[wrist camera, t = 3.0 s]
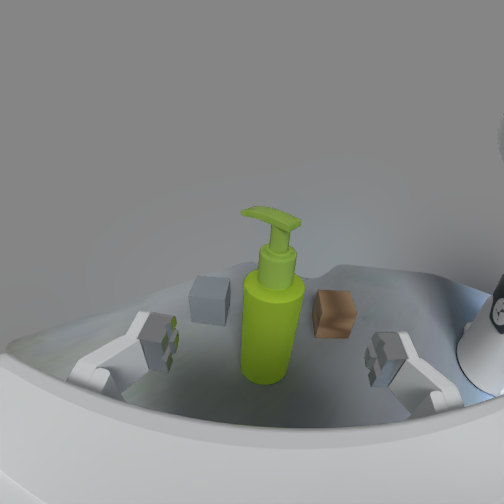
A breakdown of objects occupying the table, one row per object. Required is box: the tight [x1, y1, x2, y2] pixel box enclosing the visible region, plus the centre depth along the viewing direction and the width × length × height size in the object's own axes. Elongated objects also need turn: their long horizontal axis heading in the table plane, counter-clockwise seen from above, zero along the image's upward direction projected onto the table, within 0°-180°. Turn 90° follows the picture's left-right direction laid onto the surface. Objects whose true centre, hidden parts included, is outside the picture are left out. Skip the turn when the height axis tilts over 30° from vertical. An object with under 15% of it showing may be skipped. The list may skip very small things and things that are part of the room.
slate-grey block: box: [189, 276, 230, 326], centre depth 40 cm, size 5×5×5 cm
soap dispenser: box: [241, 206, 305, 385], centre depth 29 cm, size 6×7×20 cm
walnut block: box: [312, 290, 357, 338], centre depth 39 cm, size 5×5×5 cm
